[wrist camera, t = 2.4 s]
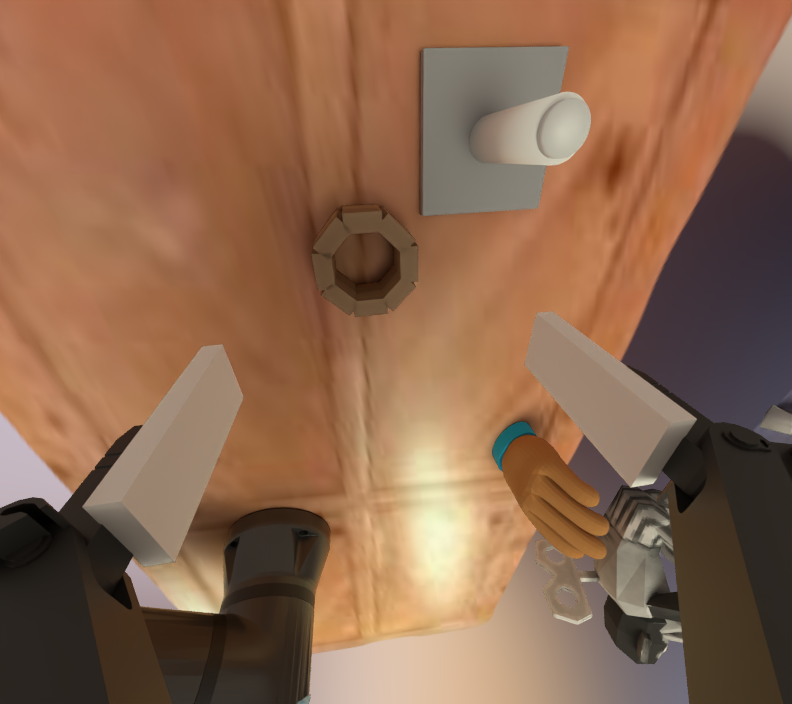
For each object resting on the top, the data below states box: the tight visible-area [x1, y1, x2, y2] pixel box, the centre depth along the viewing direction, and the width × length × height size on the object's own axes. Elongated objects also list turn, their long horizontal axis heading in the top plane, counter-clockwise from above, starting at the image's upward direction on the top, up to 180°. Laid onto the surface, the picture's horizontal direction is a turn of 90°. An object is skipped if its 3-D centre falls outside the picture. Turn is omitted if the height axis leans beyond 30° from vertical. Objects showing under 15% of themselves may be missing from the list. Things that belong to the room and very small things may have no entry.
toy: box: [535, 485, 683, 664], centre depth 54 cm, size 21×31×30 cm
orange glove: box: [492, 422, 609, 559], centre depth 38 cm, size 12×7×15 cm, turn 167°
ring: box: [311, 204, 418, 317], centre depth 25 cm, size 8×8×4 cm
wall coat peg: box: [420, 46, 591, 216], centre depth 19 cm, size 10×10×11 cm
